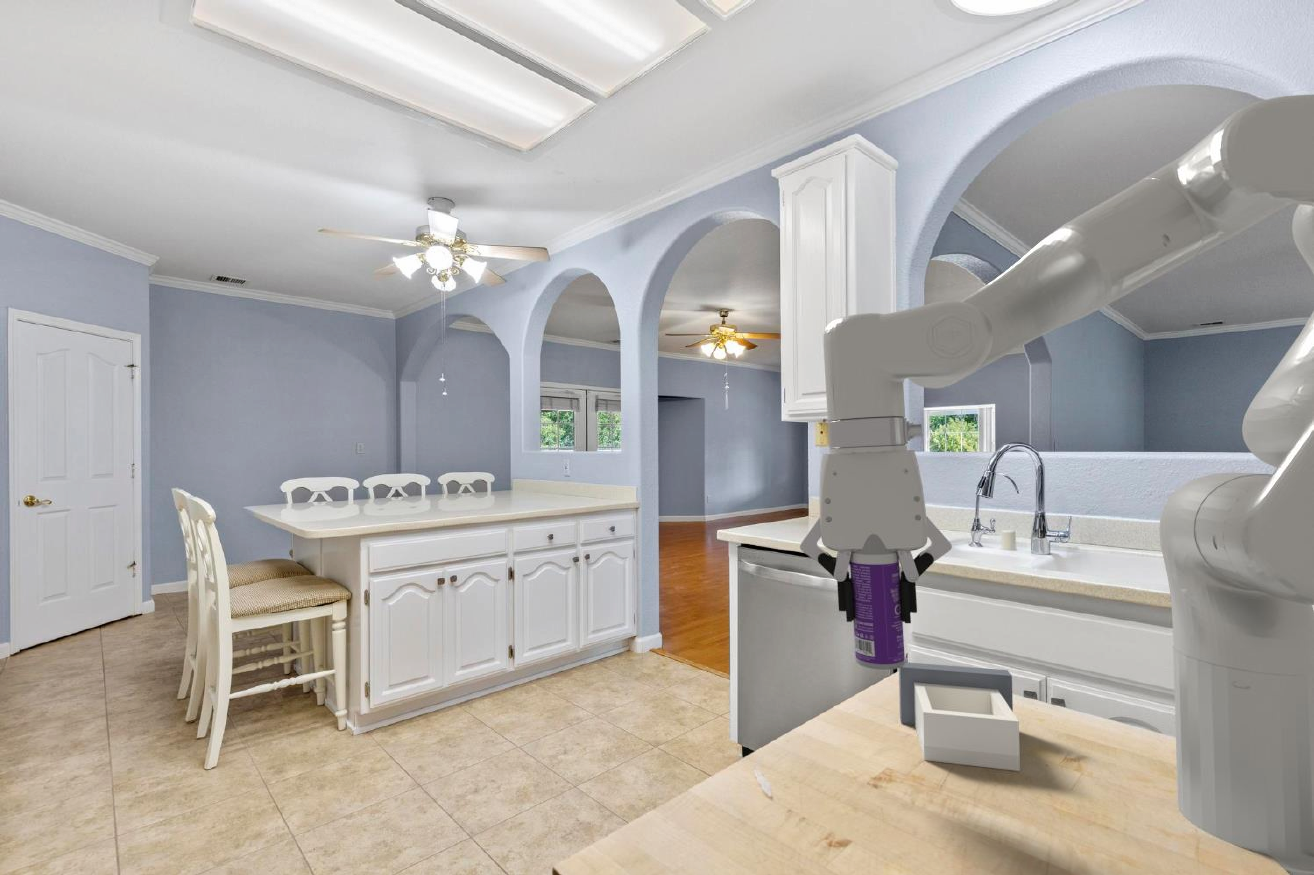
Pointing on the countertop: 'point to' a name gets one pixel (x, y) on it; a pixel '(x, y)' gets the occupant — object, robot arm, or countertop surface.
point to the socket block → (966, 726)
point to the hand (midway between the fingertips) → (877, 617)
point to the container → (877, 606)
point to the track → (948, 682)
